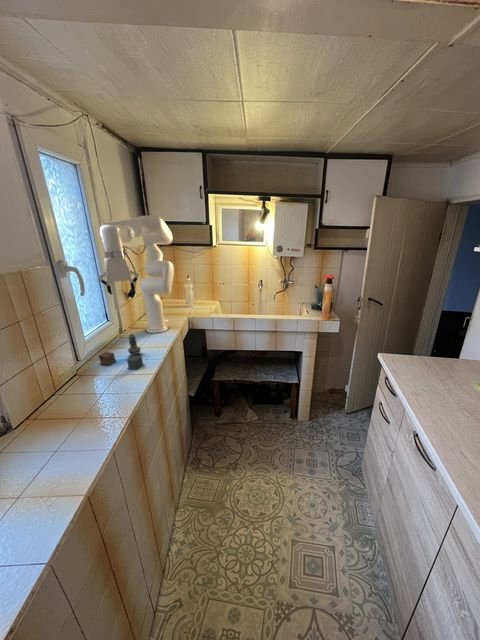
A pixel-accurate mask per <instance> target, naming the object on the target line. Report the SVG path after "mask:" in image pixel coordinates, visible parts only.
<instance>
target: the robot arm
mask: <svg viewBox="0 0 480 640" xmlns="http://www.w3.org/2000/svg"><path fill="white" fill-rule="evenodd" d="M99 234H100V237H101V241H102V245H103V246H102V247H103V251H104V255H105V258H104V259H103V262H104V263H103V264H104V272H103V273H100V274H99V275H98V276H97V278H98V280H99V281H100V282H101V283H102V284H103V285H105V286H106V290H107V293H108V294H109V295H110V296H111V295H113V292H112V286H111V283H112V282H124V281H129V282H130V283H129V285H130V291H131V293H135V291H136V287H135V283H136V282H137V281H138V278H139V275H140V274H139V273H138V272H136V271H132V270H131V269H130V265H129V262H128V260H127V257H126V256H128V252H127V251H125V250H124V247H123V243H131V242H132V241H133V240H134V239H135V238H139V237H142V241H143V243H144V246H145V247H146V251H147V254H146V255H147V256H146V263H145V274H146V275H147V276H148V277H147V276H146V277H143V278H142V279H140V281H139V289H140V292H141V294H142V297H143V302H144V308H145V314H146V321H147V325H148V326H147V327H146V328H145V330H146V332H147V333H151V334H159V333H163V332H166V331H167V330H168V329H169V327H168V325H167V324H166V323H168V322H169V320H168V319H167V318H165V316H164V310H163V308H164V307H163V303H162V299H161V298H160V296H159V295H162V296H166V295H170V294H171V292H172V289H173V284H174V283H173V282H174V275H175V268H174V264H173V263H172V261H170V260H163V258H164V254H163V252H162V250H161V249H160V248H159V246H157V245H164V246H167V245H171V244H172V242H173V238H174V237H173V233H172V231H171V229H170V228H169V226H168V225H167V223H166V222H165V220H164V219H162V218H161V217H160V216H158V215H141V216H137V217H133V218H130V219H122V220H118V221H117V220H116V221H112V222H111V221H110V222H108V223H104V224H102V225H101V226H100V227H99ZM132 275H133V276H134V277H133V278H132ZM105 277H106V280H104V278H105Z"/></svg>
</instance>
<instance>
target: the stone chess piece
mask: <svg viewBox="0 0 480 640" xmlns="http://www.w3.org/2000/svg"><path fill="white" fill-rule="evenodd" d="M137 342H138V341H137V340H136V336H135V334H133V333H130V335H128V344H129V346H130V347H128V348H127V351H128V353H129V354H130V355H129V358H130V357H132V356H133V355H134V356H141V357H142V354H141V349H142V348H141V347H140V346H138V345H137Z"/></svg>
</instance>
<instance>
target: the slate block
mask: <svg viewBox="0 0 480 640" xmlns="http://www.w3.org/2000/svg"><path fill="white" fill-rule="evenodd" d="M126 362H127V367H128V369H130V370H139V369H140V368H141V367H143V366H144V361H143V357H142V355H141V356H134V355H133V356H132V357H130V356H129V358H126Z"/></svg>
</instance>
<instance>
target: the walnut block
mask: <svg viewBox="0 0 480 640" xmlns="http://www.w3.org/2000/svg"><path fill="white" fill-rule="evenodd" d="M98 359H99V362H100V365H104V366H111V365H112V364H113V363H115V362H116V357H115V353H114V352H110V351H104V352H102V353H100V354H99V355H98Z"/></svg>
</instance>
